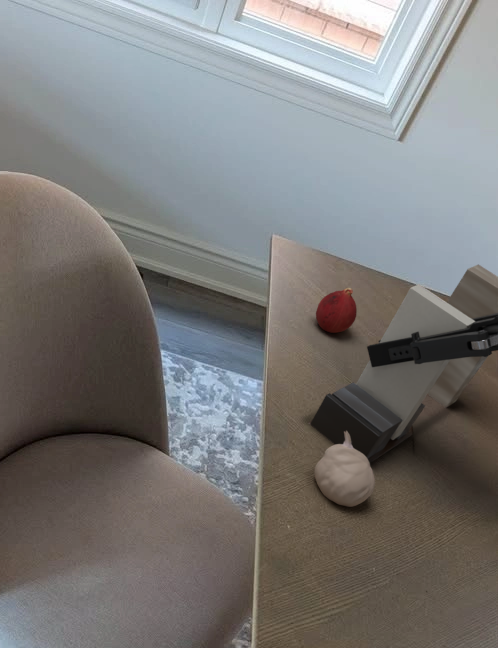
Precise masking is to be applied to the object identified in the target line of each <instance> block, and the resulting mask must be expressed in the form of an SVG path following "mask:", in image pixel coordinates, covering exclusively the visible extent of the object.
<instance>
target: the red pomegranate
mask: <svg viewBox="0 0 498 648" xmlns="http://www.w3.org/2000/svg"><path fill="white" fill-rule="evenodd" d="M353 293H354V291H353V288H352V287H346V288H344V289H341V290H336V291H333V292H330V293H328V294H327V295H325V296H324V297H322V299H321V300H320V301H319V303H318V305H317V308H316V311H315V320H316V321H317V324H318V326H319V327H320V328H321V329H322V330H323V331H325V332H326V333H329V334H330V333H331V334H336V333H341V332H345V331H346V330H348V329H349V328H350V327H352V326H353V324H354V323H355V322H356V318H357V312H358V311H357V303H356V301H355V299H354V297H353V296H352V294H353Z"/></svg>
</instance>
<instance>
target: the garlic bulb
mask: <svg viewBox="0 0 498 648" xmlns="http://www.w3.org/2000/svg"><path fill="white" fill-rule="evenodd" d="M344 435H345V441H344V443H343V444H336V445H334V444H333V445H331V446H329V447H327V448H326V449H325V452H324V454H323V456H322V457H321V459H319V460H318V462H317V463H316V465H315V466H314V472H313V473H314V478H315V481H316V484H317V487H318V488H319V490H320V491H321V494H322V495H323V496H324V497H326V498H327V499H328V500H329V501H331V502H333V503H334V504H336V505H339V506H344V507H349V508H351V507H356V506H358V505H360V504H362V503H364V502H365V501H367V500H368V499H369V498H370V497H371V495H372V494H373V492H374V490H375V486H376V479H375V478H376V477H375V473H374V470H373V469H372V467H371V463H369V461H368V459H367V457H366V456H365V455H364V454H362V453H361V452H359V451H357V450H356V449H354V448H353V446H352V444H351V438H350V435H349V433H348V432H347V431H346V432H344Z"/></svg>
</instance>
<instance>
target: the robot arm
mask: <svg viewBox="0 0 498 648" xmlns="http://www.w3.org/2000/svg"><path fill="white" fill-rule="evenodd" d="M472 320H474V321H475V323H474V324H472V325H471V327H469V328H465V329H460V330H455V331H450V332H445V333H440V334H436V335H431V336H426V337H420V336H419V332H415V333H412V334H411V336H412V337H409V338H404V339H399V340H394V341H388V342H383V343H380V341H381V339H379V340H378V342H377V343H374V344H369V345H367V346H366V349H367V352H368V357H369V360H370V361H371V365H372V367H378V366H384V365H390V364H396V363H402V362H408V361H414V363H415V364H422V363H427V362H434V361H442V360H450V359H458V358H465V357H483V356H484V357H487V356H488V357H489V356H490V355H492V354H493V352H497V351H498V313H494V314H490V315H486V316H481V317H477V318H472ZM488 357H487V358H488Z"/></svg>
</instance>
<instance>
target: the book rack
mask: <svg viewBox="0 0 498 648" xmlns="http://www.w3.org/2000/svg"><path fill="white" fill-rule="evenodd" d="M446 302H447V303H448V304H450V305H451V306H453V307H454V308H456V309H457V310H459V311H460V312H462V313H463V314H465V315H466V316H468V317H469V318H471V319H472V318H477V317H481V316H486V315H490V314H494V313H498V275H496V274H495V273H493V272H491V271H490V270H488V269H487V268H486V267H483V266H482V265H480V264H476V265H474V266H471V267H469V268H467V269H466V271H465V273H464V274H463V275H462V277H461V278H460V280H459V282H458V283H457V285H456V286H455V288H454V290H453V291H452V293H451V295H450V296H449V298H448V299H447V301H446ZM488 358H489V356H487V357H484V356H483V357H465V358H458V359H450V361H449V362H448V364H447V366H446V367H445V369H444V370H443V372H442V373H441V375H440V376H439V378H438V379H437V381H436V382H435V384H434V385H433V387H432V388H431V390H430V391H429V393H428V394H427V396H428V397H430V398H431V399H432V400H434V401H435V402H437V403H438V404H440V405H441V406H442V407H443V408H445V409H446V408H448V407H450V406H451V405H453V404H454V403H457V401H458V399H459V398H460V397H461V395H462V393H464V391H465V390H466V388H467V386H468V385H469V384H470V382H471V381H472V380H473V378H474V377H475V375H476V374H477V372H478V371H479V370H480V368H481V367H482V365H483V364H484V363H485V362H486V360H487V359H488ZM425 408H426V405H425V404H424V403H423V402H422V403H421V405H420V406H419V408H418V409H417V411H416V412H415V414H414V415H413V417H412V418H411V420H410V421H409V423H408V424H407V426H406V427H405V429H404V430H403V432H402V433H401V435H400V436H398V437H397V438H395V439H394V440H392V439H391V437H392V435H393V434H394V432H395V431H396V429H397V428H398V426H399V425H400V423H401V422H402V419H401V418H400V417H398V416H397V415H396V414H394V413H393V412H392V411H390V410H389V409H388V408H386V407H385V406H384V405H383V404H381V403H380V402H379V401H377V400H376V399H375V398H373V397H372V396H371V395H369V394H368V393H367V392H366V391H364V390H363V389H362V388H360V387H359V386H358V385H356V383H355V382H351V383H349V384H347V385H346V386H343V387H341V388H339V389H337V390H336V391H334V392H332V393H331V392H329V393H326V394H325V396H324V398H323V400H322V402H321V404H320V405H319V406H318V409H317V411H316V412H315V415H314V416H313V418H312V419H311V420H309V421H308V422H307V423H308V424H309V426H311V427H312V428H314V429H315V430H316V431H317V432H319V433H320V434H321V435H322V436H323V437H325V438H326V440H328V441H329V442H330V443H332V444H333V445H336V444H343V443H344V441H345V435H344V432H346V431H347V432H348V433H349V435H350V438H351V444H352V446H353V448H354V449H356V450H357V451H359V452H361V453H362V454H364V455H365V456H366V457H367V459H368V461H369V463H370V464H371V463H372V462H374V461H375V460H377V459H378V458H380V457H381V456H383V455H385V454H386V453H387V452H389V451H390V450H392V449H394V448H396V447H397V446H398V445H400V444H401V443H403V442H404V441H407V439H409V438H411V437H412V436H414V426H413V425H414V423H415V422H416V420H417V419H418V418H419V416H420V415H421V413H422V412H423V411H424V409H425Z"/></svg>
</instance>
